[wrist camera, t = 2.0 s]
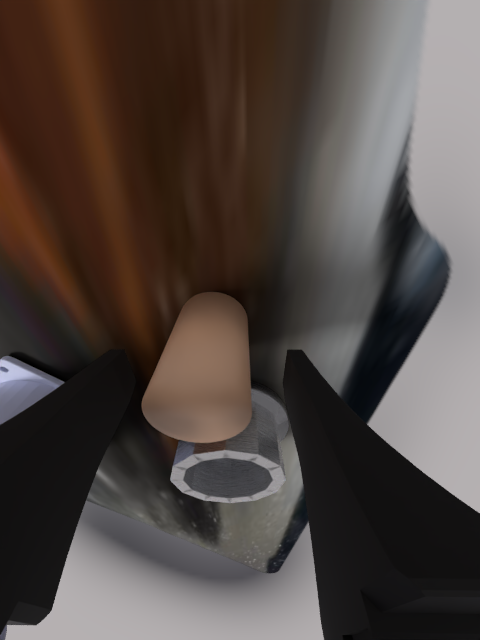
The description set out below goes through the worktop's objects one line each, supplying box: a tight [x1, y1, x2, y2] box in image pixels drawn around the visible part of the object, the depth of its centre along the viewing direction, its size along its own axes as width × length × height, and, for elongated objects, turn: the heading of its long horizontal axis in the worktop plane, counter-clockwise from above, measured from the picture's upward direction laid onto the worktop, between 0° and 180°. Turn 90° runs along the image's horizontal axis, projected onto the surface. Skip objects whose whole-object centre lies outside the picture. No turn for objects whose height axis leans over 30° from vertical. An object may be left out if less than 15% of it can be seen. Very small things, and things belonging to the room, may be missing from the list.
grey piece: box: [170, 381, 289, 503], centre depth 16 cm, size 9×9×4 cm
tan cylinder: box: [142, 292, 252, 443], centre depth 11 cm, size 4×4×6 cm
